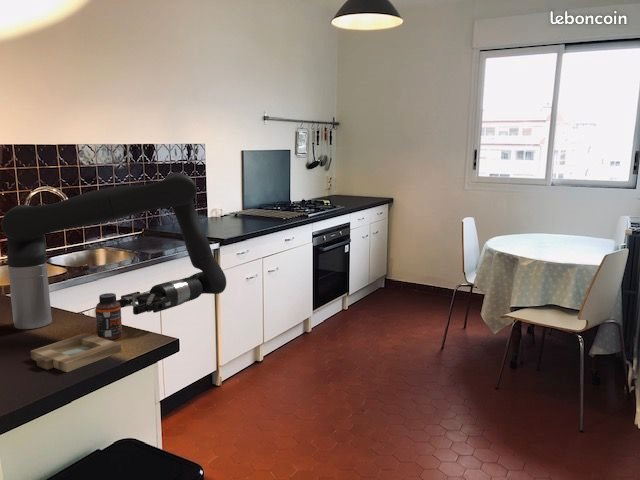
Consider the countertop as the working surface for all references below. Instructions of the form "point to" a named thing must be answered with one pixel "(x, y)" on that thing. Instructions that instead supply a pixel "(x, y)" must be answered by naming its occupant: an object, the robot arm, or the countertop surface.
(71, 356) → the holder
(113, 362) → the countertop surface
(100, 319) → the supplement bottle
